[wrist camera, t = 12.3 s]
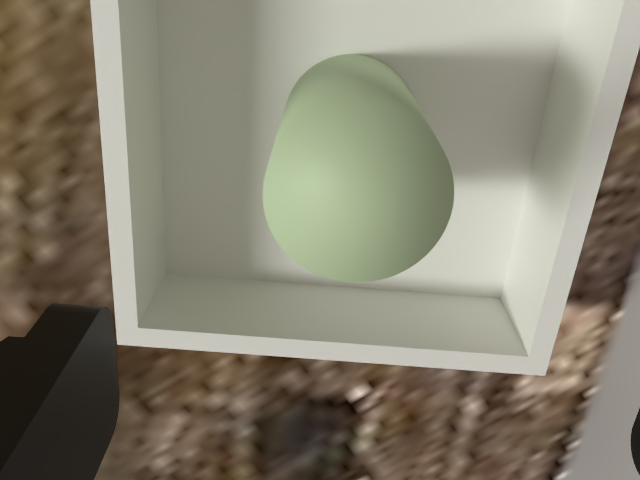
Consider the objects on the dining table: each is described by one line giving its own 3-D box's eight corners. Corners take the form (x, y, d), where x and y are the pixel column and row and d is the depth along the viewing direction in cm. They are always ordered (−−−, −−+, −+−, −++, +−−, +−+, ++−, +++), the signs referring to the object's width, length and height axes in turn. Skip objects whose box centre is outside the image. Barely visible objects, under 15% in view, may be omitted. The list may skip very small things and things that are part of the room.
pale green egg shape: (287, 48, 22) (266, 95, 15) (425, 59, 22) (469, 111, 15) (281, 179, 24) (259, 275, 17) (406, 188, 24) (438, 289, 17)
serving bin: (133, -141, 20) (77, -167, 16) (608, -100, 21) (686, -114, 16) (153, 279, 27) (117, 344, 23) (510, 306, 27) (545, 375, 23)
